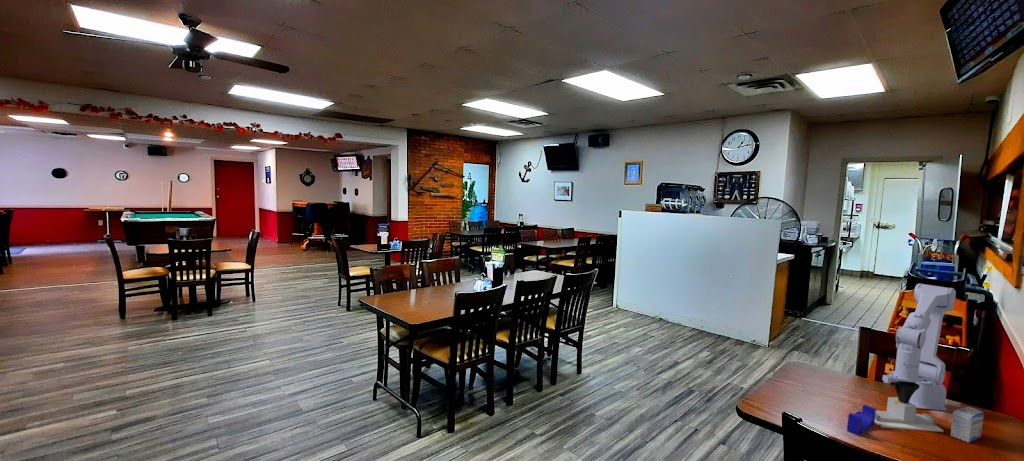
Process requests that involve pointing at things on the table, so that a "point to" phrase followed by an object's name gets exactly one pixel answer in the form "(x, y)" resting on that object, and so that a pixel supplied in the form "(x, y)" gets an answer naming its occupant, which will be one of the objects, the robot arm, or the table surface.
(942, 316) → the robot arm
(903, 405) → the block
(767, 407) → the table surface
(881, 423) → the rail board
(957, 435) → the medicine box
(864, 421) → the cable clip
